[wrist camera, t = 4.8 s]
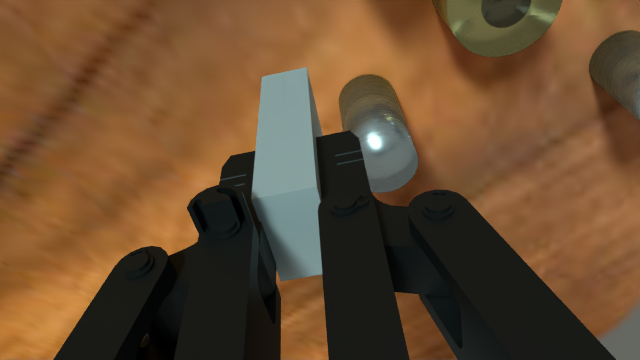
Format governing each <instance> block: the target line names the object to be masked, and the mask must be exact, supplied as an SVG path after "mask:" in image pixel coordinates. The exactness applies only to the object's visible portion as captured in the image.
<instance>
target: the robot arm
mask: <svg viewBox="0 0 640 360" xmlns="http://www.w3.org/2000/svg"><path fill="white" fill-rule="evenodd" d="M220 180H221V181H220V182H219V185H217V186H213V187H210V188H207V189H205V190H204V191H202V192H200V193H198V194H197V195H196V196H195V197H194V198H193V199H192V200H191V201H190V203H189V205H188V207H187V209H188V211H189V214H190V216H191V218H192V220H193V222H194V224H195V227H196V229H197V231H198V233H199V238H198V242H197V243H195V244H194V245H192V246H190V247H188V248H186V249H184V250H181V251H179V252H177V253H174V254H172V255H170V256H168V254H167V252H166V251H165V250H163V249H162V248H161V247H155V246H149V247H143V248H140V249H137V250H135V251H133V252H131V253H129V254H128V255H126V256H125V257H123V258H122V259H121V260H120V261H119V262H118V263H117V265H116V266H115V267H114V268H113V270H112V271H111V273H110V274H109V276H108V277H107V279H106V280H105V282H104V283H103V285H102V286H101V288H100V290H99V291H98V293H97V294H96V296H95V297H94V299H93V300H92V302H91V303H90V305H89V306H88V308H87V309H86V311H85V312H84V314H83V315H82V317H81V318H80V320H79V321H78V323H77V324H76V326H75V328H74V329H73V331H72V332H71V334H70V335H69V337H68V338H67V340H66V341H65V343H64V344H63V346H62V347H61V349H60V350H59V352H58V353H57V355H56V356H55V358H54V359H53V360H280V354H281V297H280V293H279V289H278V287H277V284H276V270H277V272H278V275H279V278H280V281H286V280H292V279H297V278H303V277H308V276H314V275H319V274H322V276H323V289H324V302H325V315H326V328H327V342H328V355H329V360H409V355H408V351H407V346H406V342H405V337H404V333H403V328H402V324H401V320H400V315H399V311H398V306H397V302H396V297H395V293H394V292H402V293H413V294H419V296H420V299H421V301H422V303H423V304H424V306H425V307H426V309H427V311H428V312H429V314H430V315H431V317H432V319H433V320H434V322H435V323H436V325H437V327H438V328H439V330H440V331H441V333H442V335H443V336H444V338H445V339H446V341H447V343H448V344H449V346H450V348H451V349H452V351H453V352H454V354H455V356H456V357H457V359H458V360H616V359H615V358H614V357H613V356H612V355H611V354H610V353H609V352H608V350H607V349H606V348H605V347H604V346H603V345H602V344H601V343H600V342H599V341H598V340H597V339H596V338H595V336H594V335H593V334H592V333H591V332H590V331H589V330H588V329H587V328H586V327H585V326H584V325H583V324H582V323H581V322H580V320H579V319H578V318H577V317H576V316H575V315H574V314H573V313H572V312H571V311H570V310H569V309H568V308H567V307H566V305H565V304H564V303H563V302H562V301H561V300H560V299H559V298H558V297H557V296H556V295H555V294H554V293H553V292H552V290H551V289H550V288H549V287H548V286H547V285H546V284H545V283H544V282H543V281H542V280H541V279H540V278H539V277H538V275H537V274H536V273H535V272H534V271H533V270H532V269H531V268H530V267H529V266H528V265H527V264H526V263H525V262H524V260H523V259H522V258H521V257H520V256H519V255H518V254H517V253H516V252H515V251H514V250H513V249H512V248H511V247H510V245H509V244H508V243H507V242H506V241H505V240H504V239H503V238H502V237H501V236H500V235H499V234H498V233H497V232H496V230H495V229H494V228H493V227H492V226H491V225H490V224H489V223H488V222H487V221H486V220H485V219H484V218H483V217H482V216H481V214H480V213H479V212H478V211H477V210H476V209H475V208H474V207H473V206H472V205H471V204H470V203H469V202H468V201H467V199H466V198H464V197H463V196H461V195H460V194H458V193H456V192H452V191H449V190H432V191H428V192H424V193H422V194H420V195H418V196H416V197H415V198H414V199H413V200H412V201H411V202H410V203H409V206H408V207H401V206H391V205H388V204H385V203H382V202H380V201H379V200H377V199H376V198H375V197H374V196H373V194H372V192H371V189H370V185H369V180H368V176H367V172H366V167H365V163H364V158H363V154H362V150H361V145H360V141H359V138H358V137H357V136H356V135H354V134H353V133H352V132H351V131H350V130H349V131H344V132H340V133H335V134H330V135H325V136H323V135H322V131H321V126H320V122H319V118H318V114H317V109H316V105H315V101H314V96H313V92H312V88H311V83H310V79H309V75H308V71H307V67H306V68H301V69H296V70H292V71H287V72H282V73H278V74H273V75H268V76H264V77H262V85H261V96H260V107H259V118H258V129H257V140H256V151H252V152H247V153H242V154H237V155H233V156H230V158H229V159H228V160H227V162H226V163H225V164H224V166H223V167H222V171H221V177H220ZM145 335H146V336H145ZM144 337H145V338H144Z"/></svg>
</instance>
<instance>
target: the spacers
mask: <svg viewBox="0 0 640 360" xmlns="http://www.w3.org/2000/svg"><path fill="white" fill-rule="evenodd" d="M589 70H590V75H591V77H592V78H593V80H594V81H595V82H596V83H597V84H599V85H600V86H601V87H602V88H603V89H604V90H605V91H606V92H607V93H609V94H610V95H611V96H612V97H613V98H614V99H615V100H616V101H617V102H619V103H620V104H621V105H622V106H623V107H624V108H625V109H626V110H627V111H629V112H630V113H631V114H632V115H633V116H634V117H635V118H636V119H637V120H639V121H640V32H638V31H633V30H628V31H622V32H619V33H616V34H614V35H612V36H610V37H609V38H607V39H606V40H605V41H603V42H602V43H601V44H600V45H599V46H598V48H597V49H596V50H595V52H594V53H593V55H592V58H591V61H590V65H589ZM339 108H340V115H341V121H342V127H343V132H344V131H349V130H350V131H351V132H352V133H353V134H354V135H356V136H357V137H358V138H359V141H360V145H361V150H362V154H363V158H364V163H365V167H366V172H367V176H368V180H369V185H370V189H371V192H376V193H384V192H390V191H393V190H396V189H398V188H400V187H402V186H404V185H405V184H406V183H408V182H409V181H410V180H411V178H412V177H413V176H414V174H415V172H416V170H417V167H418V155H417V152H416V150H415V147H414V144H413V141H412V138H411V136H410V133H409V130H408V127H407V125H406V122H405V119H404V116H403V113H402V111H401V108H400V105H399V102H398V100H397V97H396V94H395V91H394V89H393V87H392V85H391V84H390V83H389V82H388V81H387V80H386V79H384V78H383V77H380V76H377V75H372V74H367V75H361V76H358V77H356V78H354V79H352V80H351V81H349V82H348V83H347V84H346V85H345V86H344V88H343V89H342V91H341V93H340V96H339Z"/></svg>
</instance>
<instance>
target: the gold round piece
mask: <svg viewBox="0 0 640 360" xmlns="http://www.w3.org/2000/svg"><path fill="white" fill-rule="evenodd" d="M432 1H433V4H434V6H435V8H436V10H437V12H438V13H439V14H440V16H441V17H442V19H443V20H444V22H445V23H446V24H447V26H448V27H449V29H450V30H451V31H452V33H453V34H454V36H455V37H456V38H457V40H458V41H459V42H460V43H461V44H462V45H463V46H464V47H465V48H466V49H468V50H469V51H471V52H473V53H475V54H478V55H481V56H486V57H501V56H507V55H510V54H514V53H516V52H519V51H521V50H523V49H525V48H527V47H528V46H530V45H531V44H533V43H534V42H535V41H536V40H538V39H539V38H540V37H541V36H542V35H543V34H544V33H545V32H546V31H547V29H548V28H549V27H550V26H551V24H552V23H553V21H554V19H555V18H556V16H557V14H558V12H559V9H560V7H561V3H562V0H432Z"/></svg>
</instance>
